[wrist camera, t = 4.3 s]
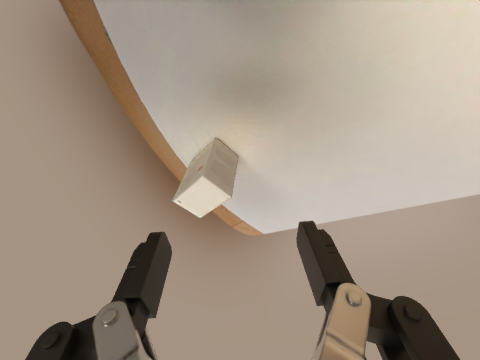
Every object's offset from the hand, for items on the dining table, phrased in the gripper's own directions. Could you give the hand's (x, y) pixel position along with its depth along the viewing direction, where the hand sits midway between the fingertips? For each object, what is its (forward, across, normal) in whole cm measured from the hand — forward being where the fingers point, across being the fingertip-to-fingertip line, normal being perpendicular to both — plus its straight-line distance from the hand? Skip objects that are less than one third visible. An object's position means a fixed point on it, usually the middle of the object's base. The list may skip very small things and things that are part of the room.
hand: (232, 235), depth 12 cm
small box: (+25, +4, +9) cm, 27 cm away
